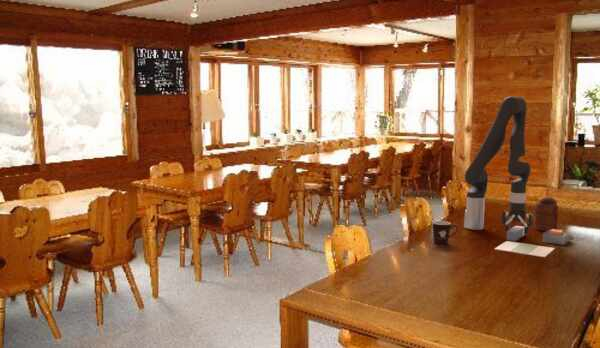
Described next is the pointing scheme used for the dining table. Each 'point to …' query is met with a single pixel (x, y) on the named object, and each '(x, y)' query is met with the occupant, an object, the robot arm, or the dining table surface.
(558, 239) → the button housing
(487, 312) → the dining table surface
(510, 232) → the eraser
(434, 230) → the coffee mug
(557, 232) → the button cap
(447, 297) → the dining table surface
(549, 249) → the paper sheet
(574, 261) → the dining table surface
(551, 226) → the wooden figurine
